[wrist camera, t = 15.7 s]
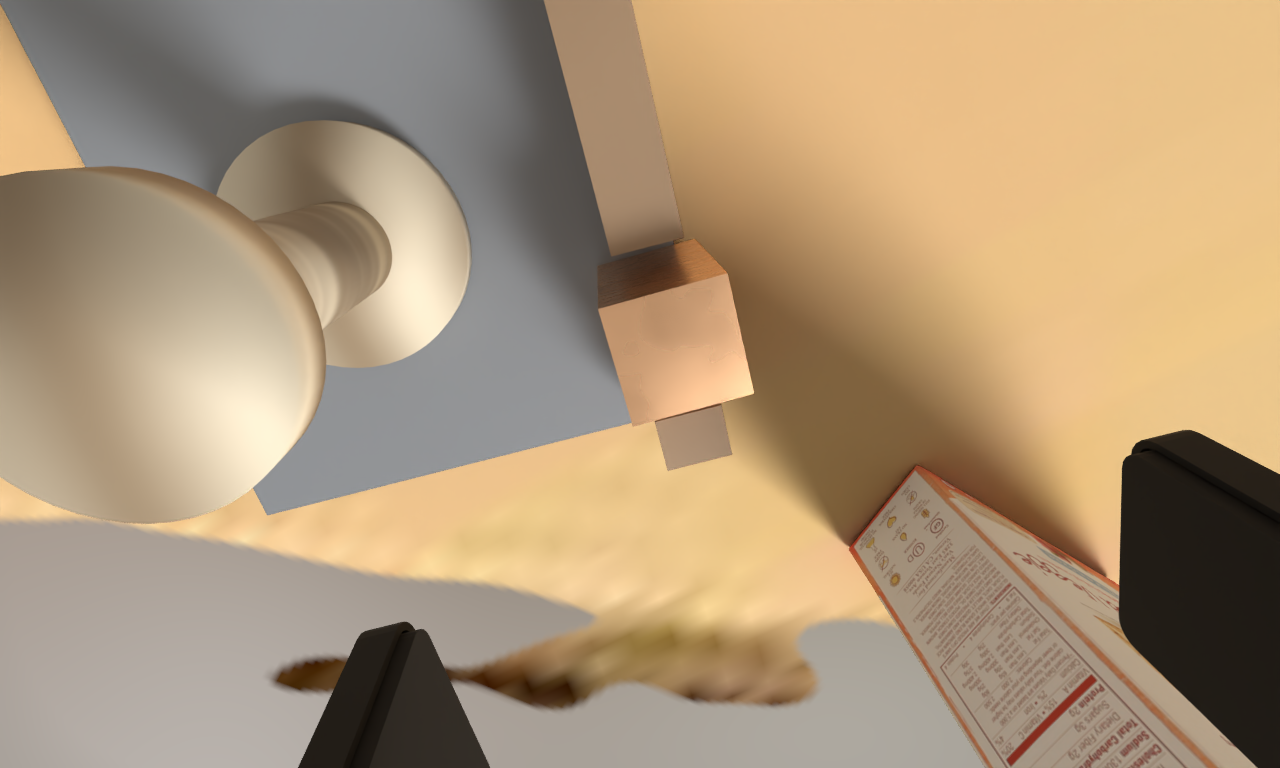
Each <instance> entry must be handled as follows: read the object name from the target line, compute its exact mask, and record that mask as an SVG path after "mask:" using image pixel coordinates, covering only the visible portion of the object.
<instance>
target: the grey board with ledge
mask: <svg viewBox="0 0 1280 768" xmlns="http://www.w3.org/2000/svg"><path fill="white" fill-rule="evenodd" d="M0 4H1V6H2V8H3V10H4V11H5V13H6V15H7V17H8V19H9V21H10V23H11V25H12V27H13V29H14V31H15V33H16V34H17V36H18V38H19V40H20V42H21V44H22V46H23V48H24V50H25V52H26V54H27V56H28V58H29V59H30V61H31V63H32V65H33V67H34V69H35V71H36V73H37V75H38V77H39V79H40V81H41V82H42V84H43V86H44V88H45V90H46V92H47V94H48V96H49V98H50V100H51V102H52V104H53V105H54V107H55V109H56V111H57V113H58V115H59V117H60V119H61V121H62V123H63V125H64V127H65V128H66V130H67V132H68V134H69V136H70V138H71V140H72V142H73V144H74V146H75V148H76V150H77V151H78V153H79V155H80V157H81V159H82V161H83V163H84V165H85V167H104V166H116V167H129V168H138V169H143V170H148V171H153V172H158V173H162V174H165V175H168V176H171V177H174V178H177V179H180V180H184V181H187V182H189V183H191V184H193V185H195V186H197V187H200V188H202V189H204V190H206V191H208V192H211V193H212V194H214V195H217V192H218V189H219V186H220V184H221V182H222V180H223V178H224V176H225V173H226V172H227V170H228V169H229V167H230V166H231V164H232V163H233V162H234V160H235V159H236V158H237V157H238V156H239V155H240V154H241V153H242V151H243V150H244V149H245V148H246V147H248V146H249V145H250V144H252V143H253V142H254V141H256V140H257V139H258V138H260V137H262V136H263V135H265V134H267V133H269V132H271V131H273V130H275V129H278V128H281V127H284V126H286V125H289V124H294V123H299V122H304V121H319V120H329V121H344V122H354V123H359V124H363V125H368V126H371V127H374V128H377V129H380V130H383V131H385V132H388V133H390V134H392V135H394V136H395V137H397V138H399V139H401V140H403V141H405V142H406V143H408V144H409V145H411V146H412V147H414V148H415V149H417V150H418V151H419V152H420V153H421V154H422V155H424V156H425V157H426V158H427V159H428V160H429V161H430V162H431V163H432V164H433V165H434V166H435V167H436V168H437V169H438V170H439V171H440V173H441V174H442V175H443V176H444V178H445V179H446V181H447V182H448V183H449V185H450V186H451V188H452V189H453V191H454V193H455V195H456V197H457V198H458V200H459V202H460V204H461V207H462V209H463V212H464V214H465V217H466V220H467V224H468V228H469V232H470V238H471V246H472V265H471V272H470V279H469V282H468V286H467V290H466V293H465V295H464V297H463V299H462V302H461V304H460V306H459V307H458V309H457V311H456V312H455V314H454V315H453V317H452V318H451V320H450V321H449V322H448V323H447V325H446V326H445V327H444V328H443V329H442V331H441V332H440V333H439V334H438V335H437V336H436V337H435V338H434V339H433V340H432V341H431V342H430V343H429V344H427V345H426V346H425V347H423V348H422V349H420V350H419V351H417V352H416V353H414V354H412V355H410V356H408V357H406V358H404V359H402V360H399V361H396V362H393V363H390V364H386V365H381V366H375V367H365V368H348V367H338V366H332V365H327V364H326V376H325V384H324V388H323V393H322V398H321V401H320V403H319V406H318V409H317V411H316V414H315V416H314V418H313V420H312V422H311V423H310V425H309V427H308V428H307V430H306V432H305V433H304V434H303V436H302V437H301V438H300V439H299V441H298V442H297V443H296V444H295V445H294V447H293V448H292V449H291V450H290V451H289V452H288V453H287V454H286V455H285V456H284V457H283V458H282V459H281V460H280V461H279V462H278V463H277V464H276V465H275V466H274V468H273V469H272V470H271V471H270V472H269V473H268V474H267V475H266V476H265V477H264V478H263V479H262V480H261V481H260V482H258V483H257V484H256V485H255V486H254V487H253V489H254V491H255V493H256V495H257V497H258V498H259V500H260V502H261V504H262V506H263V508H264V510H265V512H266V514H267V515H271V514H274V513H278V512H282V511H286V510H290V509H294V508H298V507H302V506H306V505H310V504H314V503H318V502H322V501H326V500H330V499H334V498H337V497H341V496H345V495H349V494H353V493H357V492H361V491H365V490H369V489H373V488H377V487H381V486H385V485H389V484H393V483H396V482H400V481H404V480H408V479H412V478H416V477H420V476H424V475H428V474H432V473H436V472H440V471H444V470H448V469H452V468H456V467H459V466H463V465H467V464H471V463H475V462H479V461H483V460H487V459H491V458H495V457H499V456H503V455H507V454H511V453H515V452H518V451H522V450H526V449H530V448H534V447H538V446H542V445H546V444H550V443H554V442H558V441H562V440H566V439H570V438H574V437H578V436H581V435H585V434H589V433H593V432H597V431H601V430H605V429H609V428H613V427H617V426H621V425H625V424H629V423H632V422H631V418H630V415H629V412H628V408H627V405H626V402H625V398H624V395H623V392H622V388H621V385H620V381H619V378H618V375H617V371H616V368H615V365H614V361H613V358H612V354H611V351H610V348H609V344H608V341H607V338H606V334H605V331H604V328H603V324H602V321H601V317H600V314H599V311H598V285H597V266H598V265H602V264H606V263H609V262H613V261H616V260H620V259H623V258H627V257H631V256H634V255H638V254H641V253H645V252H649V251H652V250H656V249H659V248H663V247H666V246H670V245H674V243H673V240H677V239H681V238H684V235H683V231H682V226H681V222H680V217H679V213H678V208H677V204H676V199H675V195H674V190H673V186H672V181H671V177H670V172H669V168H668V163H667V159H666V154H665V150H664V145H663V141H662V136H661V132H660V127H659V123H658V118H657V114H656V109H655V105H654V100H653V96H652V91H651V87H650V82H649V78H648V73H647V69H646V64H645V60H644V55H643V51H642V46H641V42H640V37H639V33H638V28H637V24H636V19H635V15H634V10H633V6H632V1H631V0H0ZM655 424H656V428H657V432H658V435H659V439H660V443H661V447H662V451H663V454H664V458H665V462H666V466H667V470H668V471H669V470H673V469H677V468H681V467H685V466H689V465H693V464H697V463H701V462H705V461H709V460H713V459H717V458H721V457H725V456H729V455H732V451H731V447H730V442H729V438H728V433H727V429H726V424H725V420H724V415H723V411H722V406H721V404H720V403H718V404H714V405H711V406H707V407H703V408H700V409H696V410H692V411H689V412H685V413H681V414H677V415H674V416H670V417H666V418H663V419H659V420H655Z"/></svg>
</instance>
